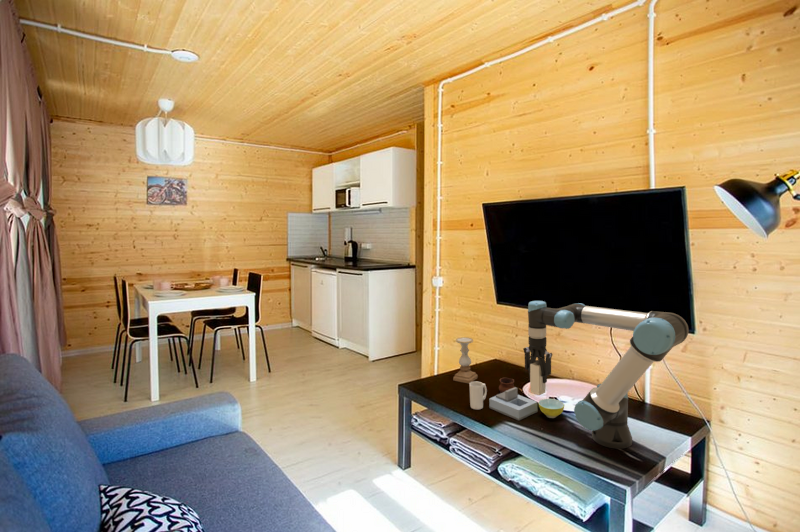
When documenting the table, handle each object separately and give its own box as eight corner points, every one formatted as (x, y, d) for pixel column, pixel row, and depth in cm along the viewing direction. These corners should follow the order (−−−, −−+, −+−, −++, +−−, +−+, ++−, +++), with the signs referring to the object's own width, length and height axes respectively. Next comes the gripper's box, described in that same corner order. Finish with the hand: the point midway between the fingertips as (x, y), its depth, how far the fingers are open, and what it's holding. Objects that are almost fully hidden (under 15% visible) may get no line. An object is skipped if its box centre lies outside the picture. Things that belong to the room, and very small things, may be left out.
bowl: (558, 424, 199) (558, 411, 198) (534, 417, 206) (534, 404, 206) (568, 415, 207) (568, 402, 206) (544, 408, 215) (544, 396, 214)
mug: (475, 411, 215) (475, 387, 214) (467, 406, 221) (466, 383, 220) (491, 405, 220) (490, 382, 219) (482, 401, 226) (482, 378, 225)
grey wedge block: (517, 397, 217) (517, 387, 216) (507, 401, 212) (507, 392, 212) (505, 392, 223) (505, 383, 222) (495, 396, 218) (495, 387, 218)
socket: (537, 411, 212) (537, 401, 211) (518, 420, 203) (518, 410, 203) (508, 400, 226) (507, 390, 226) (489, 408, 218) (489, 398, 217)
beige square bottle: (545, 392, 194) (545, 360, 192) (539, 395, 191) (538, 363, 190) (536, 389, 197) (536, 358, 196) (530, 392, 195) (530, 360, 193)
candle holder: (452, 380, 257) (451, 340, 254) (461, 374, 266) (460, 336, 263) (469, 383, 250) (468, 343, 248) (478, 377, 259) (477, 338, 257)
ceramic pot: (522, 386, 244) (522, 374, 243) (525, 399, 227) (525, 386, 226) (489, 385, 247) (489, 373, 246) (490, 399, 230) (489, 386, 229)
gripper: (560, 338, 187) (560, 391, 189) (526, 331, 201) (526, 380, 203) (549, 342, 182) (550, 396, 185) (515, 334, 196) (516, 384, 199)
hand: (537, 387), depth 194 cm, fingers closed on beige square bottle, 4 cm apart
